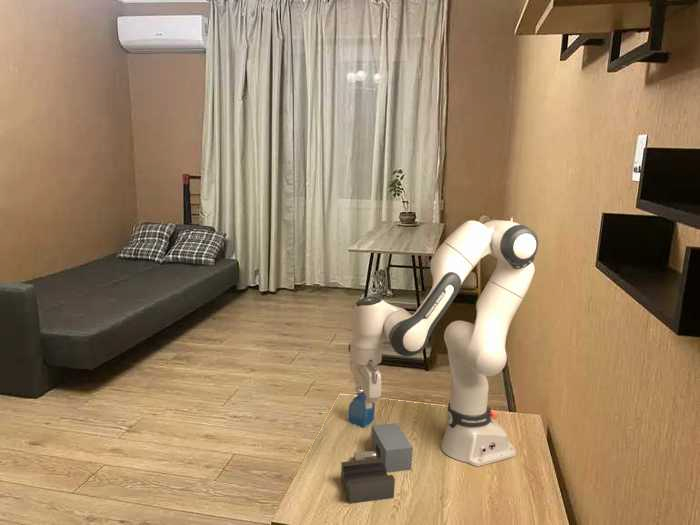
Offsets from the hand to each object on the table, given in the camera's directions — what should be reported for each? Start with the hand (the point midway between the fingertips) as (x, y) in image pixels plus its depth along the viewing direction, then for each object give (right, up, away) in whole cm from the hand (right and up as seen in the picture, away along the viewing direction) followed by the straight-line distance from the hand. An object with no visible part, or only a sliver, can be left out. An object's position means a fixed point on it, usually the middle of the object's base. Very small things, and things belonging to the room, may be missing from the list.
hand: (363, 399), depth 150 cm
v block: (+1, -22, -9) cm, 23 cm away
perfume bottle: (0, -15, +26) cm, 30 cm away
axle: (+3, -19, +5) cm, 20 cm away
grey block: (+8, -19, +6) cm, 21 cm away
